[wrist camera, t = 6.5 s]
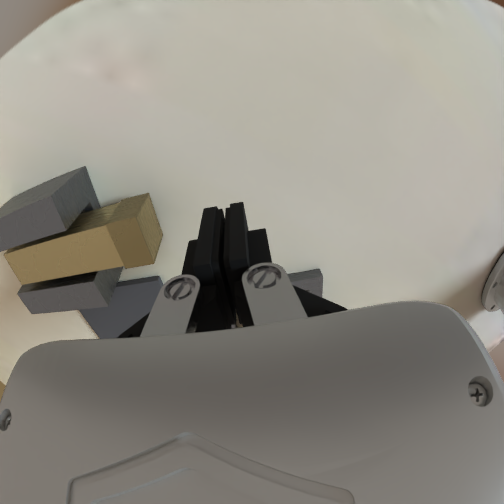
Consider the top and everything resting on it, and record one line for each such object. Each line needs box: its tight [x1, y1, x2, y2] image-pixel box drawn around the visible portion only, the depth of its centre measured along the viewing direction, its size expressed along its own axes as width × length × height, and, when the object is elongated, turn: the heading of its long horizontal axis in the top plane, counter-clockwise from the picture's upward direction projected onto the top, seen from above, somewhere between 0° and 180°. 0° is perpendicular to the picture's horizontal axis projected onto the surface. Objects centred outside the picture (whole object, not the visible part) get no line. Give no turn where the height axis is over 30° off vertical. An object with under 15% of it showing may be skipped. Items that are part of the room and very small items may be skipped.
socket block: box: [0, 166, 124, 314], centre depth 14 cm, size 7×7×4 cm
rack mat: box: [79, 276, 163, 339], centre depth 22 cm, size 8×15×1 cm, turn 8°
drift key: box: [4, 193, 163, 285], centre depth 13 cm, size 10×3×3 cm, turn 98°
